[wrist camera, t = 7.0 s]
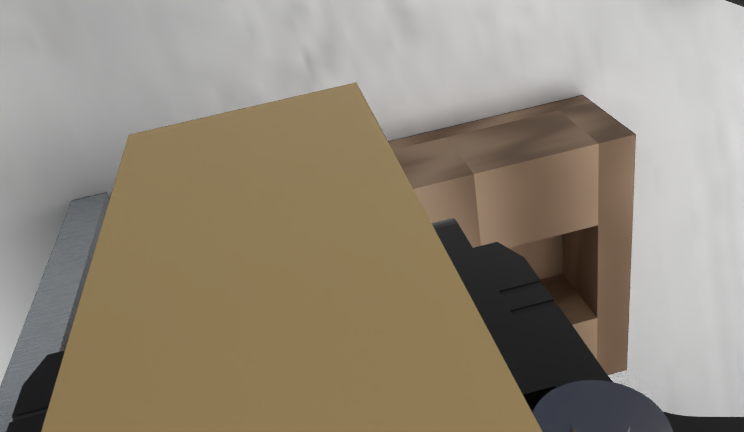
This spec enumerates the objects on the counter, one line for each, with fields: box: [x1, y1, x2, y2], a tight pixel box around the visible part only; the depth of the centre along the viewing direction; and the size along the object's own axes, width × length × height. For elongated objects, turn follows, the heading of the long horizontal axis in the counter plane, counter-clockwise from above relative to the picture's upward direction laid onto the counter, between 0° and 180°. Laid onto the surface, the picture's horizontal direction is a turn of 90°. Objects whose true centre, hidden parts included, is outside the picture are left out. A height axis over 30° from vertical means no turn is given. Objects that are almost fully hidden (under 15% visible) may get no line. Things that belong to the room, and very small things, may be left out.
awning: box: [0, 193, 110, 432], centre depth 28 cm, size 11×16×18 cm
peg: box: [41, 83, 542, 432], centre depth 9 cm, size 4×4×10 cm
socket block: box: [388, 95, 636, 375], centre depth 35 cm, size 18×14×5 cm
